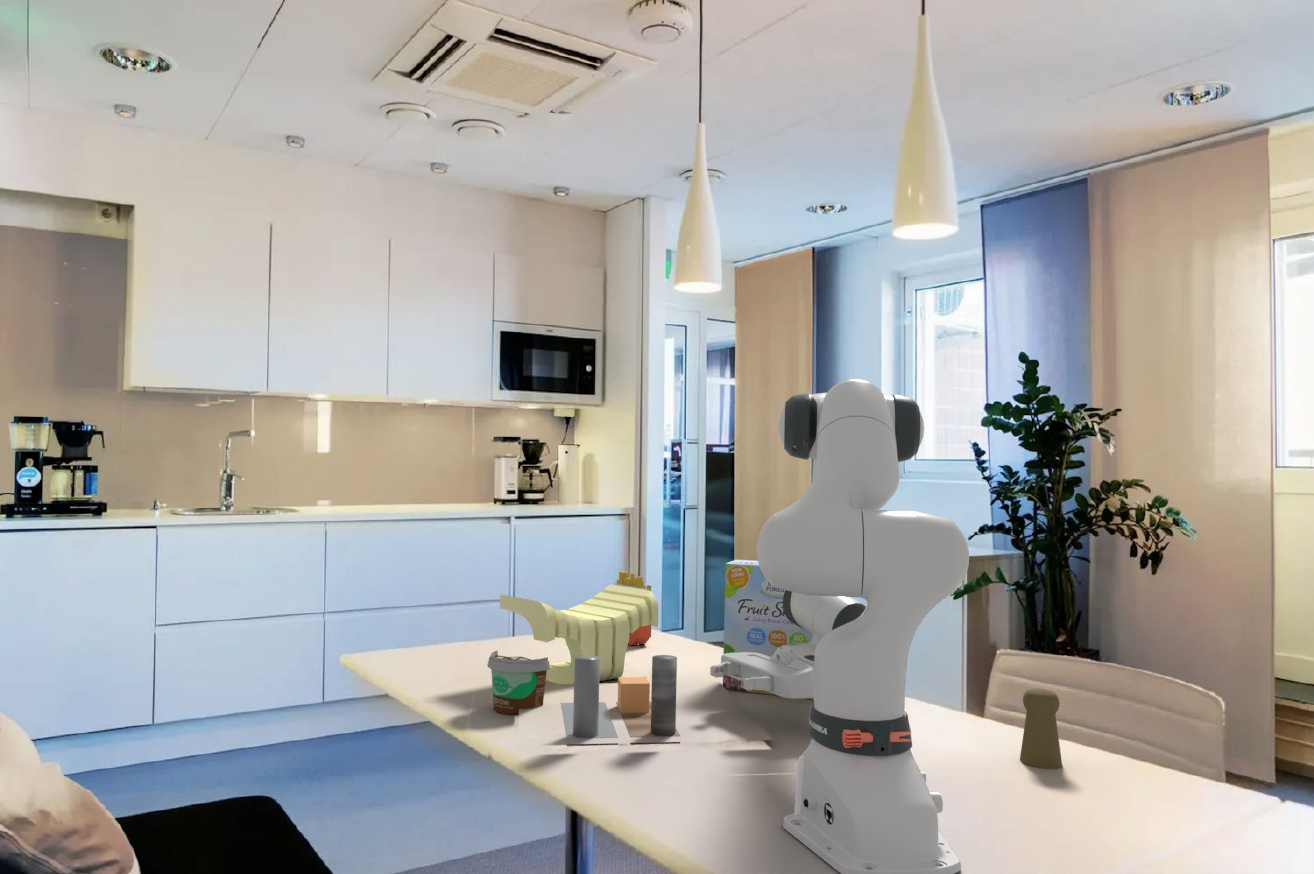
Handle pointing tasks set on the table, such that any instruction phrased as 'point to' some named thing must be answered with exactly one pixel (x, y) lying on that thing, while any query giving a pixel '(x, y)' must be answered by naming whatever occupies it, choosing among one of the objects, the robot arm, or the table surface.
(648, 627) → the french fries container
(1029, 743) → the olive green pawn
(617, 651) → the slatted curved stool
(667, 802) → the table surface
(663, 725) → the grey post on board
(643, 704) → the terracotta block
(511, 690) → the food container
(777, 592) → the snack box
